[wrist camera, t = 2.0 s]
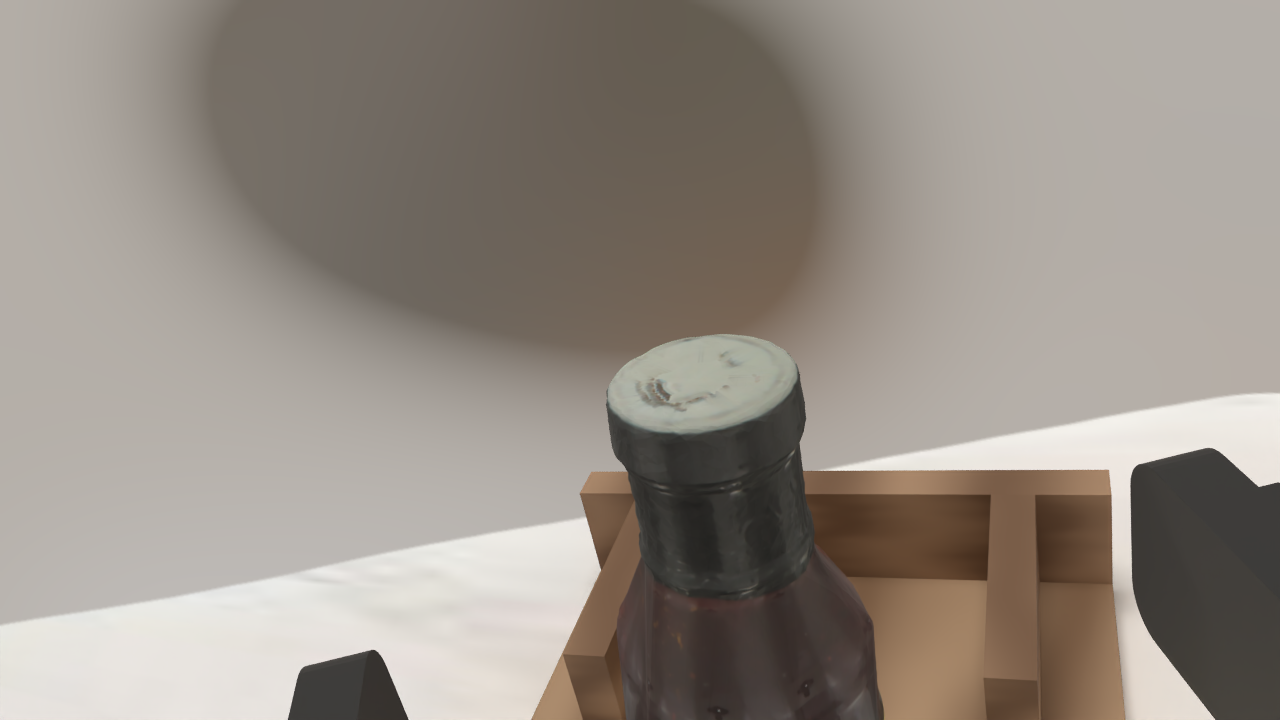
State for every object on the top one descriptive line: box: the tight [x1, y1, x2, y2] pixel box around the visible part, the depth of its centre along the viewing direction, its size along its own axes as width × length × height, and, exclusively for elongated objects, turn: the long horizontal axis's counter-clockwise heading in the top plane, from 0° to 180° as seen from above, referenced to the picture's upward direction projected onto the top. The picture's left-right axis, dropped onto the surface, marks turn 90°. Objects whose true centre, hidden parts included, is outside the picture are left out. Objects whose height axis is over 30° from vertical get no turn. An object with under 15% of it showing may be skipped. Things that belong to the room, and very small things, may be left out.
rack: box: [531, 470, 1125, 720], centre depth 41 cm, size 20×12×6 cm, turn 74°
